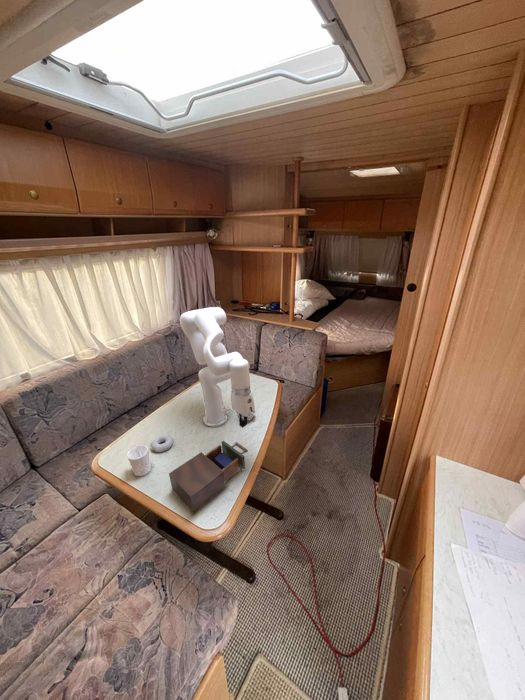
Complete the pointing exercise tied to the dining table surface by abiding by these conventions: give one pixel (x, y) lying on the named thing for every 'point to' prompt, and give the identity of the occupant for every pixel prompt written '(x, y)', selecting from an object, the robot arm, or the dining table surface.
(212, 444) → the dining table surface
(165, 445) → the donut
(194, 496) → the cabinet
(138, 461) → the white cup
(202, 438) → the dining table surface
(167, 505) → the dining table surface
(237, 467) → the drawer
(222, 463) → the tall navy block
